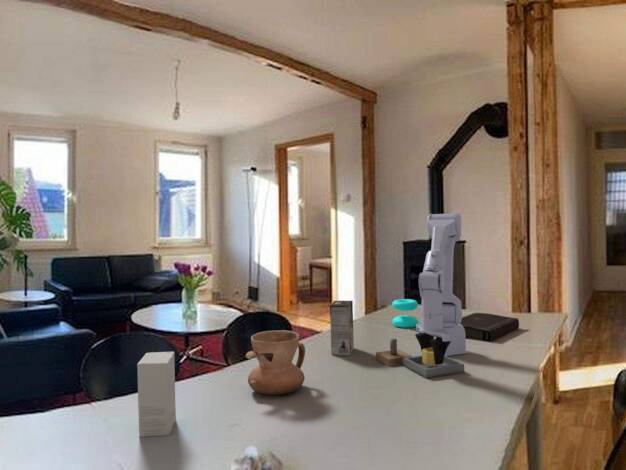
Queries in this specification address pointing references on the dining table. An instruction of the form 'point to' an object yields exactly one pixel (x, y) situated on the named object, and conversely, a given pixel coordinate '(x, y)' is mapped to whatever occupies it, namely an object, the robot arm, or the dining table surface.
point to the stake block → (392, 355)
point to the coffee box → (341, 327)
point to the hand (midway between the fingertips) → (432, 360)
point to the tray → (433, 367)
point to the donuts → (405, 320)
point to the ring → (428, 356)
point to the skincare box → (156, 394)
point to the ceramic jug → (276, 362)
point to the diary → (488, 326)
